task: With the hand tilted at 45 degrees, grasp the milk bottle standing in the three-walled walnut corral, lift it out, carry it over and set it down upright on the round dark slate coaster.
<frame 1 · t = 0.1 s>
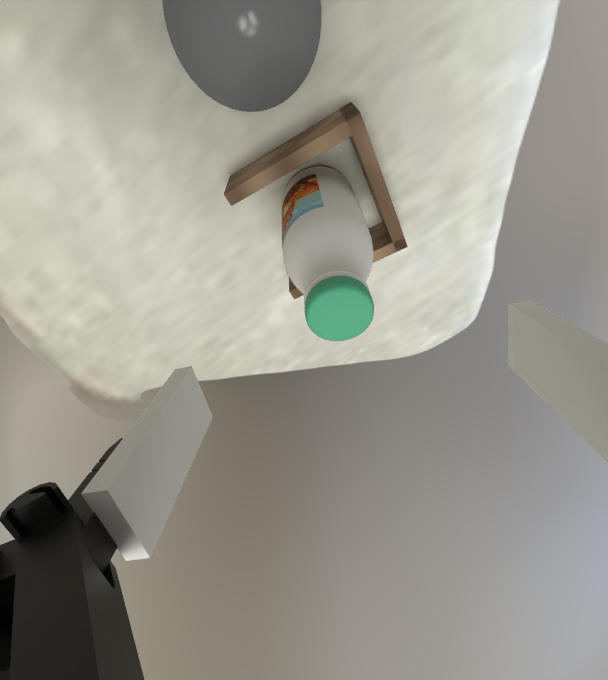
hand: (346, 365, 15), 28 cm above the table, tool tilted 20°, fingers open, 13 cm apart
coaster: (244, 20, 28), on the table
milk bottle: (317, 202, 38), on the table
corral: (317, 202, 38), on the table
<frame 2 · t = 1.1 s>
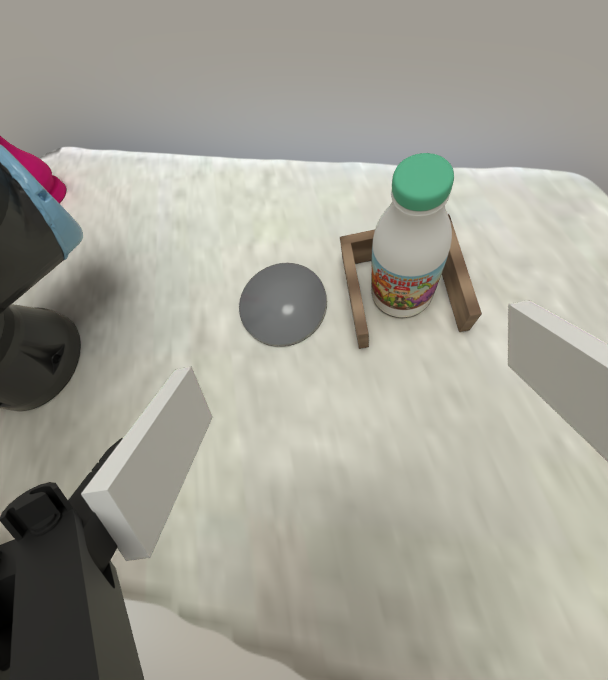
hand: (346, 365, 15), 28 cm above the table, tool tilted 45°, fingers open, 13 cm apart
coaster: (283, 304, 48), on the table
pepper mill: (52, 196, 64), on the table
milk bottle: (401, 292, 45), on the table
corral: (401, 291, 45), on the table
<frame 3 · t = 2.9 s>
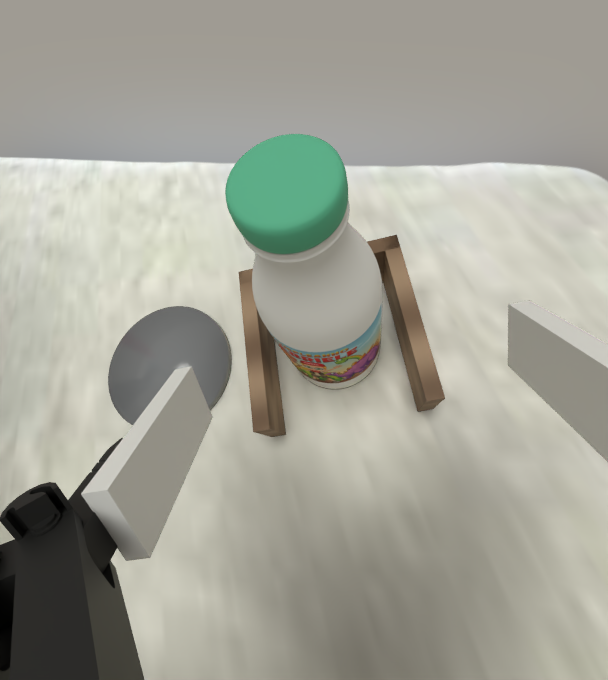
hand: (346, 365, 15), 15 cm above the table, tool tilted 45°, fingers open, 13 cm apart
coaster: (172, 367, 33), on the table
milk bottle: (335, 348, 31), on the table
corral: (335, 347, 31), on the table
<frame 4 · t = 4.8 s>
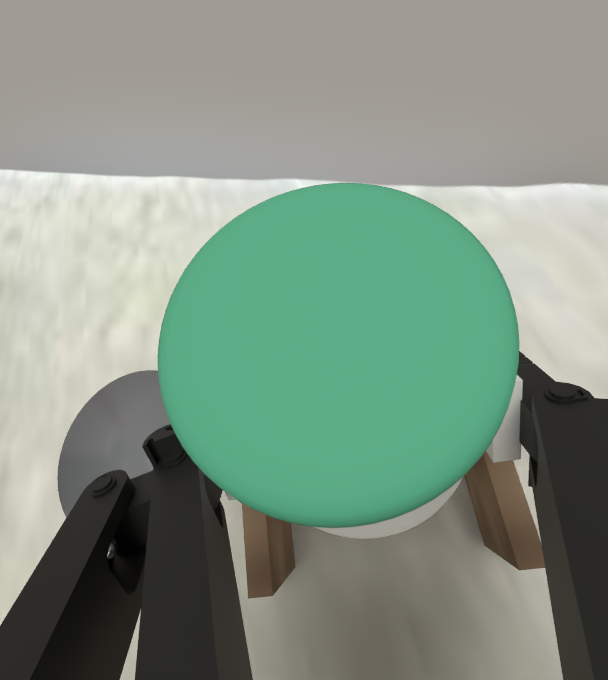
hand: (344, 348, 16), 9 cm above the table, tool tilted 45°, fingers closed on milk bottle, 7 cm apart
coaster: (143, 454, 25), on the table
milk bottle: (363, 439, 23), on the table, touching gripper
corral: (363, 438, 23), on the table
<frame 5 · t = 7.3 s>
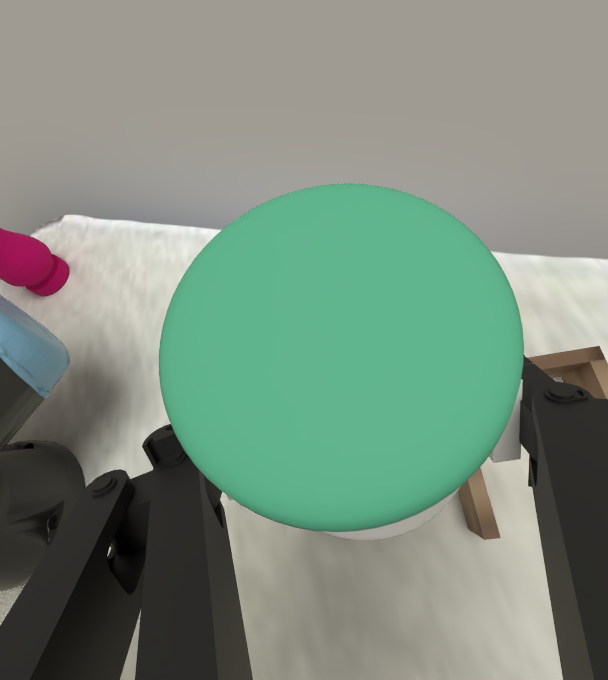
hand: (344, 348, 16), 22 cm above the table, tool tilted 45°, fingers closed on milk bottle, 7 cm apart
pepper mill: (52, 278, 53), on the table
milk bottle: (364, 439, 23), point 14 cm above the table, touching gripper
corral: (521, 441, 33), on the table
when the fingers open (11 cm above the table, at t = 10.1 s): milk bottle drops 1 cm, resting on coaster.
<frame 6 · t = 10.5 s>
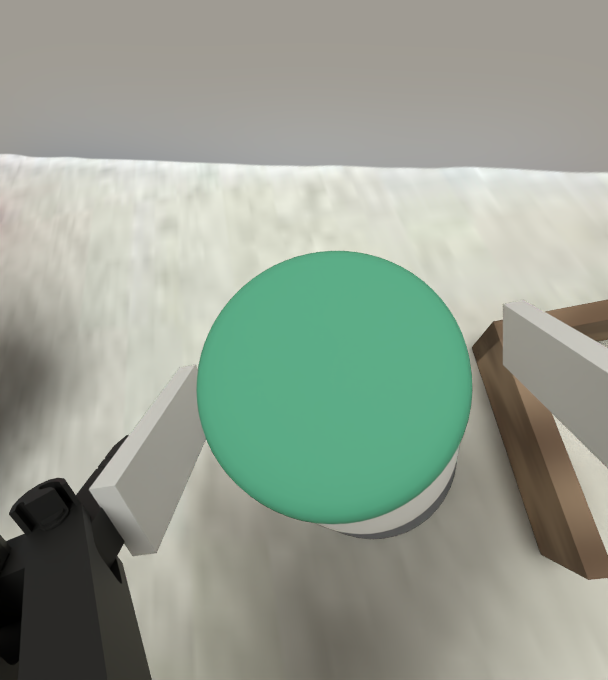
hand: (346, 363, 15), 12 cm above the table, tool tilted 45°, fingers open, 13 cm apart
coaster: (364, 441, 25), on the table
milk bottle: (363, 441, 24), point 1 cm above the table, touching coaster
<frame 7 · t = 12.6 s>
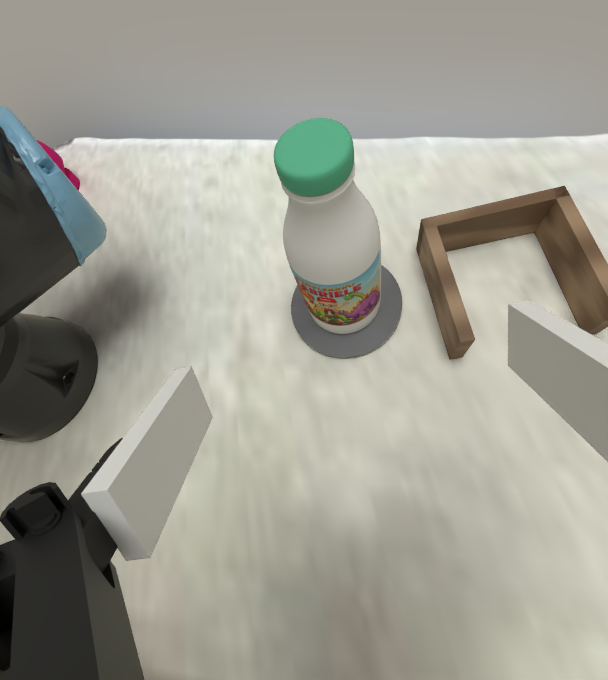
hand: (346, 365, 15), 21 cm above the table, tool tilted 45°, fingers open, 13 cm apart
coaster: (345, 306, 39), on the table
pepper mill: (63, 191, 56), on the table
milk bottle: (344, 303, 38), point 1 cm above the table, touching coaster
corral: (498, 286, 36), on the table
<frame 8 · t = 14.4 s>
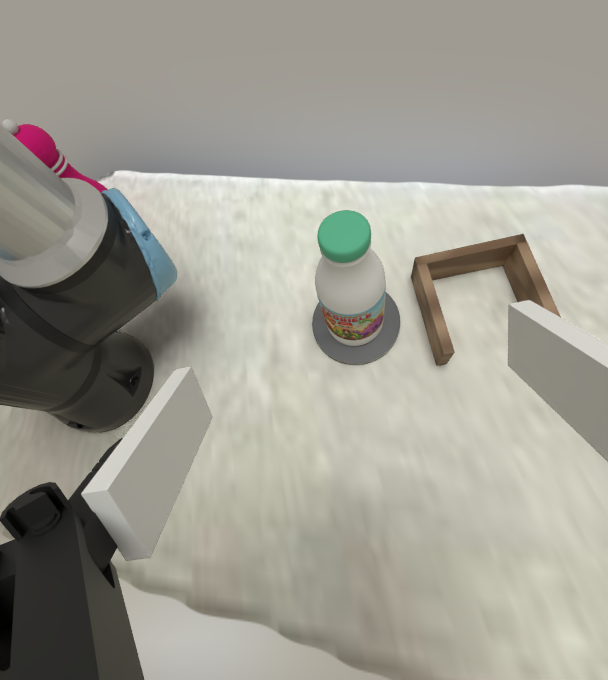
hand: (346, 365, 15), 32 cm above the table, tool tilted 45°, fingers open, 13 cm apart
coaster: (355, 323, 49), on the table
pepper mill: (109, 219, 65), on the table
milk bottle: (354, 321, 48), point 1 cm above the table, touching coaster
corral: (474, 309, 46), on the table
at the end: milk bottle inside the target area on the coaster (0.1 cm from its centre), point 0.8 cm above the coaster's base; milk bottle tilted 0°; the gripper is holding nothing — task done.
